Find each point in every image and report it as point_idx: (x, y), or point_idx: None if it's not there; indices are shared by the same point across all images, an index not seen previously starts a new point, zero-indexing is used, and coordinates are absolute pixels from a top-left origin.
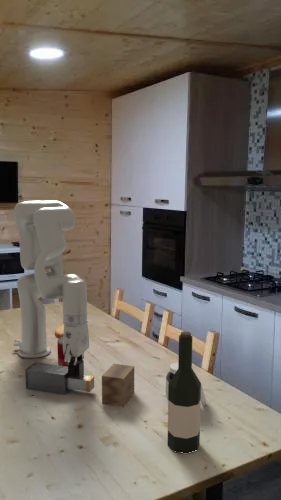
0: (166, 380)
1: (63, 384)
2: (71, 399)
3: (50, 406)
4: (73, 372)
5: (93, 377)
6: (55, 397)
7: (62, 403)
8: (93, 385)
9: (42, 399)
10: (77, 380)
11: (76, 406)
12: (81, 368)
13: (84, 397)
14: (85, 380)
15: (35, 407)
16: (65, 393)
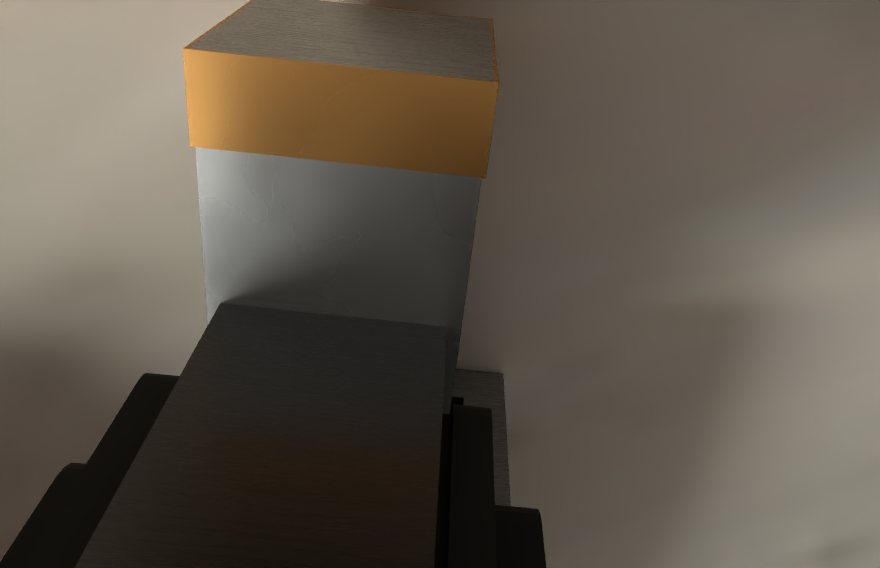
0: None
1: (508, 496)
2: (625, 252)
3: (845, 428)
4: (538, 559)
5: (233, 51)
6: (591, 447)
7: (758, 325)
8: (289, 8)
9: (660, 546)
10: (455, 351)
11: (860, 109)
12: (295, 471)
13: (530, 83)
14: (472, 192)
15: (864, 550)
16: (480, 377)
